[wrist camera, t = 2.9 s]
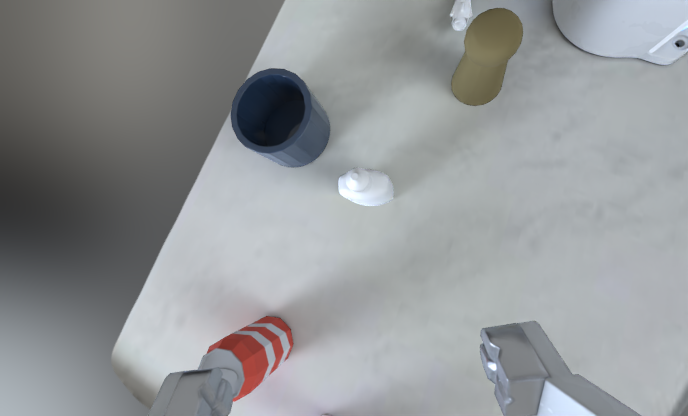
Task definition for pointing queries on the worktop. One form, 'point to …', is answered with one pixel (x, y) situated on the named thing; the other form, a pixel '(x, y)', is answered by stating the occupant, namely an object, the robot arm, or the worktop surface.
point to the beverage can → (250, 354)
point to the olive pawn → (486, 56)
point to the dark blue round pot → (280, 118)
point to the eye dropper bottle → (366, 187)
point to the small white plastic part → (461, 14)
